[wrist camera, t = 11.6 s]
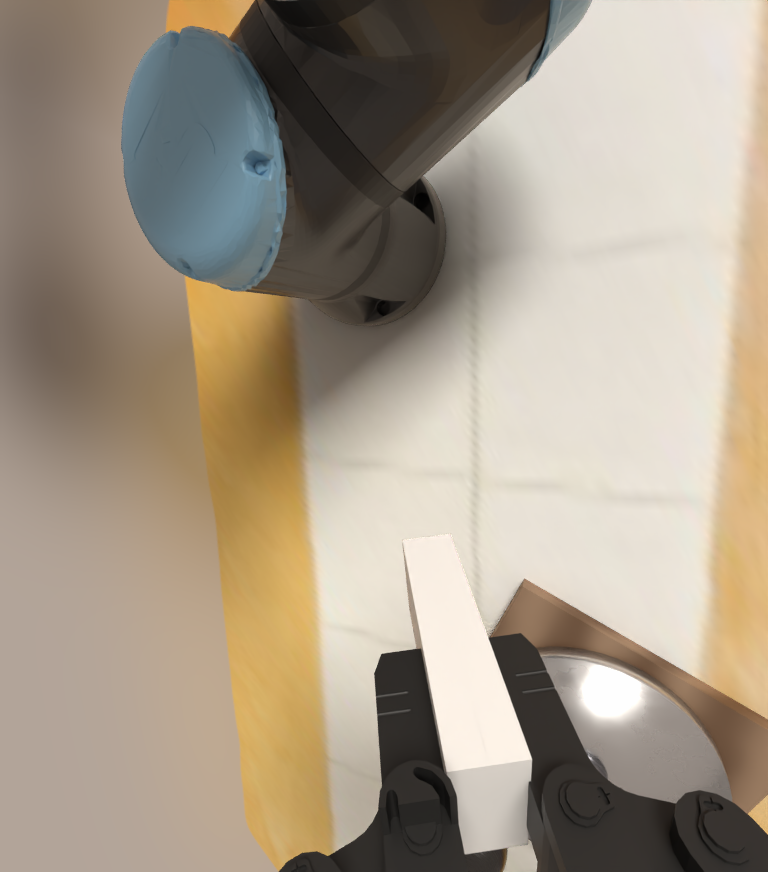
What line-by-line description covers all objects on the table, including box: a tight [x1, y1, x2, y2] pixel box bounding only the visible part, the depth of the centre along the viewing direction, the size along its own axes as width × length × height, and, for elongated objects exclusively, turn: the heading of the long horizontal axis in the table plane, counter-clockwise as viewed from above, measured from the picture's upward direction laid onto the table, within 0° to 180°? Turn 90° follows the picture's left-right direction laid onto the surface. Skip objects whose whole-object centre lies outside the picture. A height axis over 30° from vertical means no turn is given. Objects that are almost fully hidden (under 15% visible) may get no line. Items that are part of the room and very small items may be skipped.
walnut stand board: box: [490, 579, 768, 814], centre depth 42 cm, size 24×24×4 cm
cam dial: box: [465, 646, 732, 872], centre depth 34 cm, size 23×22×19 cm
